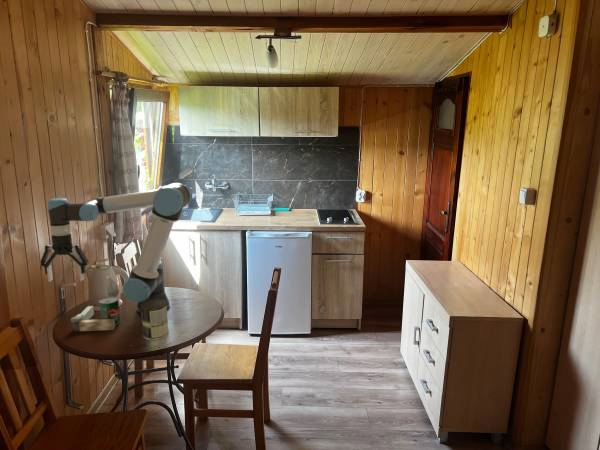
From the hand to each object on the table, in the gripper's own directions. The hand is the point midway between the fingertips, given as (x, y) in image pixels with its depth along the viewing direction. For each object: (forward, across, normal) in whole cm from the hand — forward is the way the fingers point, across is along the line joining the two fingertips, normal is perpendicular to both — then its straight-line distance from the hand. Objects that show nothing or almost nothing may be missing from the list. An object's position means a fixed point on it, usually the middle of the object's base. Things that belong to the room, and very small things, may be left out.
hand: (66, 280), depth 193 cm
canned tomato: (+19, -19, +4) cm, 27 cm away
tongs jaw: (+19, -7, +4) cm, 20 cm away
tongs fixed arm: (+19, -14, +10) cm, 26 cm away
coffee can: (+19, -42, +18) cm, 49 cm away
